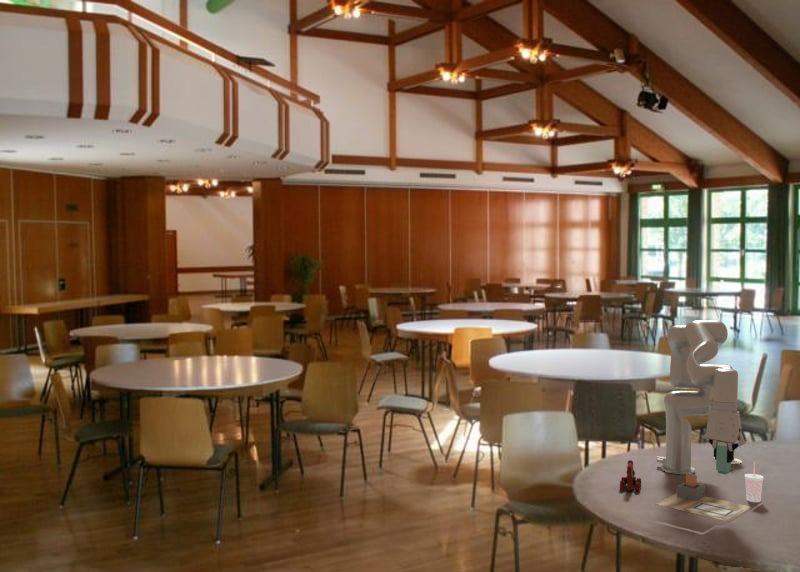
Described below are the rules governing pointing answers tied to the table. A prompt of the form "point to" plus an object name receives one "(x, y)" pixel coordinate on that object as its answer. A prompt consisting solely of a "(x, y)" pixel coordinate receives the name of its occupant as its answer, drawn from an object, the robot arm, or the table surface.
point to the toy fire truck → (630, 479)
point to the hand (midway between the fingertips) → (723, 460)
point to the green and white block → (722, 458)
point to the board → (706, 507)
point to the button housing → (691, 492)
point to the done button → (691, 480)
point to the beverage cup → (753, 486)
